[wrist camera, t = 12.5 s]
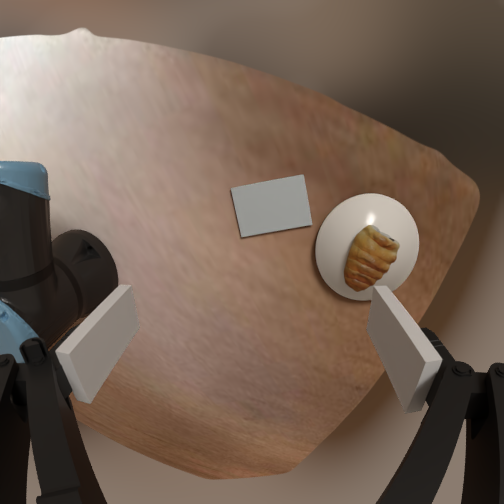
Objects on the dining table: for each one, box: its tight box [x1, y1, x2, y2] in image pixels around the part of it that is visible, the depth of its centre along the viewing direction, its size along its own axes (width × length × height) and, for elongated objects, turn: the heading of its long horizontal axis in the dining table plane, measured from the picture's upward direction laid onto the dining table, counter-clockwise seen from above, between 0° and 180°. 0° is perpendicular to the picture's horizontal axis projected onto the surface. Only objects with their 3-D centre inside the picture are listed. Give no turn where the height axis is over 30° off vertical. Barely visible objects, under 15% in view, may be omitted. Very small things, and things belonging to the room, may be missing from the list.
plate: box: [315, 193, 419, 301], centre depth 41 cm, size 16×16×1 cm
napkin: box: [231, 175, 312, 237], centre depth 41 cm, size 10×7×1 cm
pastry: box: [344, 225, 400, 292], centre depth 39 cm, size 9×7×4 cm
